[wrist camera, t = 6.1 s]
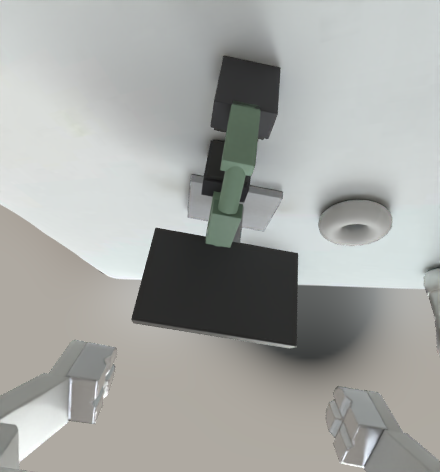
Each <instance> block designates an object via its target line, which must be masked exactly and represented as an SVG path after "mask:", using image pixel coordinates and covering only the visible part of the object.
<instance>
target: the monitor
mask: <svg viewBox="0 0 440 472" xmlns="http://www.w3.org/2000/svg"><path fill="white" fill-rule="evenodd" d="M203 178H204V177H203V176H197V175H192V176H191V181H190V193H189V205H188V218H193V219H198V220H204V221H209V215H210V210H211V204H212V198H213V197H211V196H206V195H201V191H202V184H203ZM282 199H283V192H281V191H275V190H270V189H265V188H260V187H255V186H250V187H249V191H248V194H247V197H246V199H245V202H244V203H243V202H239V204H243V211H242V219H241V221H240V224H239V226H238V229H237V231H236V234H235V237H234V239H233V242H232V244H231V247H230V248H228V247H222V246H220V247H217V246H215V245H211V244H206V243H205V242H206V240H205V238H206V237H205V236H199V235H194V234H188V233H183V232H177V231H172V230H166V229H160V228H155V232H154V236H153V239H152V243H151V247H150V251H149V254H148V258H147V262H146V266H145V270H144V273H143V277H142V281H141V285H140V288H139V293H138V296H137V300H136V304H135V308H134V311H133V315H132V321H133V323H136V324H142V325H148V326H155V327H161V328H167V329H173V330H179V331H185V332H191V333H198V334H204V335H210V336H216V337H222V338H229V339H235V340H241V341H247V342H254V343H260V344H266V345H272V346H278V347H285V348H294V347H296V346H297V285H298V253H293V252H288V251H282V250H277V249H271V248H266V247H260V246H254V245H249V244H243V243H240V238H241V230H242V228H247V229H253V230H258V231H264V230H265V229H266V227H267V225H268V223H269V222H270V220H271V218H272V216H273V215H274V213H275V211H276V209H277V207H278V206H279V204H280V202H281V200H282Z"/></svg>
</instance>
